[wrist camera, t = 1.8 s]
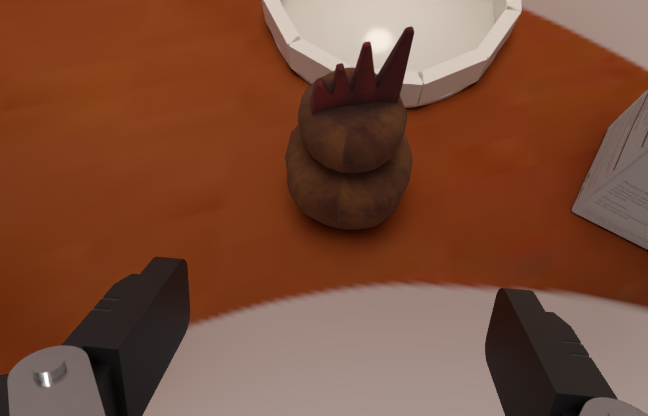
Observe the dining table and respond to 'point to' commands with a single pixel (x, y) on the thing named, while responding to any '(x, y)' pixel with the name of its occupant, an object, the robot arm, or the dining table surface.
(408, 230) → the dining table surface
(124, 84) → the dining table surface
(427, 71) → the ceramic dish
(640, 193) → the supplement box
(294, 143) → the wooden figurine
